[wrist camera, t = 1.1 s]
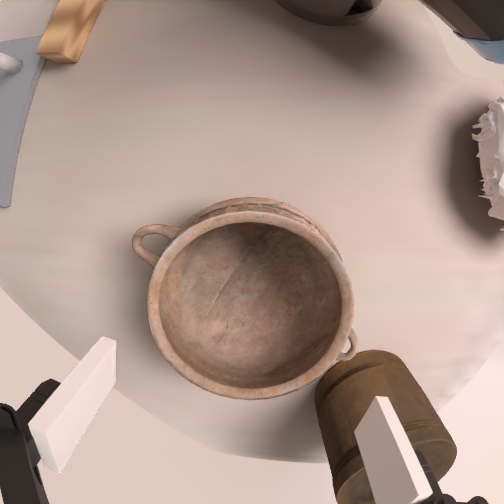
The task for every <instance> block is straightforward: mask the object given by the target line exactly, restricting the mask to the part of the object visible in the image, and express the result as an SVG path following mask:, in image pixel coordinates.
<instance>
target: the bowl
mask: <svg viewBox="0 0 504 504" xmlns="http://www.w3.org/2000/svg"><path fill="white" fill-rule="evenodd" d="M488 108H490V109H489V111H488V112H487V114H485V113H484V114H483V115H482V116H481V117H480V118H479V121H478V122H481V123H478V124H476V125H473V128H481V127H482V130H481V133H479V134H478V135H474V134H472V138H473V140H476V141H478V142H479V143H478V146H479V153H478V154H477V156H476V157H479V158H480V169H481V173H482V176H481V177H483V179H484V180H480V181H484V184H483V188H484V189H481V190H483V191H485V192H486V193H482V194H485V195H481V196H480V197H484V198H488V199H490V202H491V205H492V208H491V209H490V210H489V211H488V215H489V216H491V217H494V218H497V219H501V220H503V221H504V96H502V97H500V98H499V99H497V102H492V103H491V104H490V105H489V106H488ZM500 230H501V231H504V227H502V228H501V229H500Z"/></svg>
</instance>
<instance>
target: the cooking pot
mask: <svg viewBox="0 0 504 504" xmlns="http://www.w3.org/2000/svg"><path fill="white" fill-rule="evenodd" d="M149 234H160V235H163V236H165V237H167V238H169V239H170V241H169V243H168V244H167V246H166V248H165V249H164V252H163V254H162V256H157V255H154V254H152V253H150V252H148V251H147V250H145V249H144V248H143V247H142V246H141V245H140V243H141V240H142V238H143V237H144V236H146V235H149ZM132 247H133V250H134V251H135V252H136V254H137V255H138V256H140V257H141V258H142V259H143V260H145V261H146V262H147V263H149V264H150V265H151V266H152V267H153V268H154V271H153V274H152V276H151V279H150V282H149V287H148V294H147V317H148V321H149V325H150V329H151V333H152V335H153V338H154V340H155V342H156V344H157V347H158V348H159V350H160V351H161V353H162V354H163V356H164V357H165V359H166V360H167V361H168V362H169V363H170V365H171V366H172V367H173V368H174V369H175V370H176V371H177V372H178V373H179V374H181V375H182V376H183V377H185V378H186V379H187V380H188V381H190V382H191V383H193V384H195V385H197V386H198V387H200V388H202V389H204V390H206V391H209V392H212V393H214V394H217V395H220V396H224V397H229V398H233V399H244V400H259V399H269V398H274V397H278V396H283V395H286V394H288V393H291V392H294V391H296V390H298V389H300V388H302V387H304V386H306V385H308V384H309V383H311V382H312V381H314V380H315V379H316V378H318V377H319V376H320V375H321V374H323V373H324V372H325V371H326V370H327V369H328V368H329V367H330V366H331V364H332V363H333V362H334V361H335V360H341V361H347V360H350V359H352V358H353V357H354V356H355V355H356V353H357V351H358V347H359V344H358V339H357V336H356V334H355V332H354V330H353V329H352V328H351V326H352V321H353V316H354V298H353V292H352V286H351V282H350V279H349V277H348V274H347V271H346V269H345V266H344V264H343V262H342V259H341V257H340V254H339V252H338V249H337V248H336V246H335V244H334V243H333V241H332V240H331V238H330V237H329V235H328V234H327V233H326V232H325V231H324V229H323V228H322V227H321V226H320V225H319V224H318V223H317V222H316V221H315V220H313V219H312V218H310V217H309V216H308V215H306V214H305V213H304V212H302V211H300V210H298V209H296V208H294V207H292V206H290V205H288V204H286V203H283V202H279V201H275V200H272V199H268V198H256V197H245V198H235V199H230V200H226V201H223V202H219V203H216V204H214V205H212V206H210V207H208V208H206V209H204V210H202V211H200V212H198V213H197V214H195V215H194V216H193V217H191V218H190V219H189V220H187V221H186V222H185V223H184V224H183V225H182V226H181V227H180V228H178V227H172V226H167V225H160V224H154V225H148V226H145V227H142V228H140V229H139V230H138V231H137V232H136V233H135V234H134V236H133V239H132ZM347 338H349V340H350V343H351V348H350V349H349V351H348V352H347V353H341V351H342V349H343V348H344V345H345V343H346V341H347Z"/></svg>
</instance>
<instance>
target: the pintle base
mask: <svg viewBox="0 0 504 504" xmlns="http://www.w3.org/2000/svg"><path fill="white" fill-rule="evenodd" d="M41 39H42V37H33V38H25V39H18V40H11V41H5V42H0V206H2V207H8V206H10V203H11V194H12V187H13V180H14V174H15V168H16V163H17V157H18V152H19V148H20V143H21V139H22V134H23V130H24V126H25V122H26V118H27V115H28V111H29V108H30V104H31V101H32V98H33V94H34V91H35V88H36V85H37V82H38V79H39V77H40V74H41V71H42V68H43V66H44V63H45V60H46V58H45V57H42V56H40V55H38V54H36V50H37V48H38V45H39V43H40V41H41Z"/></svg>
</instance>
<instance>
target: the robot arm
mask: <svg viewBox="0 0 504 504" xmlns="http://www.w3.org/2000/svg"><path fill="white" fill-rule="evenodd" d="M277 1H278V2H279V3H280V4H281V5H282V6H283V7H285V8H286V9H287V10H289V11H290V12H292V13H294V14H296V15H298V16H300V17H302V18H304V19H307V20H310V21H313V22H316V23H321V24H326V25H338V26H339V25H351V24H355V23H358V22H361V21H363V20H365V19H367V18H368V17H369V16H370V15H372V13H373V12H374V11H375V10H376V8H377V7H378V5H379V4H380V2H381V0H277ZM418 1H420V2H421V3H422V4H423V5H425V6H426V7H427V8H428V9H430V10H431V11H432V12H433V13H434V14H436V15H437V16H438V17H439V18H440V19H441V20H442V21H443V22H445V23H446V24H447V25H448V26H449V27H450V28H451V29H452V30H453V32H454V33H455V34H456V35H457V36H458V37H459V38H461V39H463V40H465V41H466V42H467V43H468V44H469V45H470V46H471V47H472V48H473V49H474V50H475V51H477V53H478V54H479V55H481V56H482V57H483V58H485V59H486V60H489V61H492V62H495V63H498V64H504V0H418ZM115 383H116V341H115V340H113V339H110V338H107V337H104V336H102V337H101V338H100V339H99V340H98V341H97V343H96V344H95V345H94V346H93V347H92V348H91V349H90V350H89V352H88V353H87V354H86V355H85V356H84V357H83V358H82V360H81V361H80V362H79V363H78V364H77V365H76V367H75V368H74V369H73V370H72V371H71V372H70V374H69V375H68V376H67V377H66V378H65V379H64V381H63V382H62V383H60V382H57V381H55V380H53V379H49V380H47V381H45V382H43V383H41V384H40V385H39V386H38V387H37V389H36V390H35V392H33V393H32V394H31V395H30V397H28V399H27V400H26V401H25V402H24V403H23V404H22V405H21V407H20V408H19V409H18V410H17V411H15V410H14V409H13V408H12V407H11V406H9V405H7V404H3V403H0V489H1V493H2V497H3V501H4V504H49V502H48V499H47V496H46V493H45V490H44V487H43V483H42V480H41V477H40V473H39V469H38V466H37V464H38V462H39V460H40V459H41V460H42V462H43V465H44V466H45V467H47V468H49V469H51V470H53V471H54V472H56V473H58V474H60V473H61V472H62V470H63V468H64V467H65V464H66V463H67V461H68V459H69V458H70V456H71V454H72V453H73V451H74V450H75V448H76V446H77V444H78V443H79V441H80V439H81V438H82V436H83V434H84V433H85V431H86V429H87V428H88V426H89V425H90V423H91V421H92V420H93V418H94V416H95V415H96V413H97V411H98V410H99V408H100V406H101V405H102V404H103V402H104V400H105V399H106V397H107V396H108V394H109V392H110V391H111V389H112V388H113V386H114V385H115ZM354 433H355V436H356V439H357V443H358V446H359V449H360V452H361V456H362V459H363V462H364V465H365V469H366V472H367V475H368V479H369V482H370V486H371V489H372V492H373V496H374V499H375V503H376V504H488V502H487V501H486V500H485V499H484V498H483V497H480V496H475V497H473V498H472V499H471V500H470V501H468V502H467V503H465V502H456V501H455V499H454V498H453V497H452V496H450V495H448V494H442V492H441V489H440V487H439V485H438V483H437V481H436V479H435V476H434V474H433V472H431V471H432V470H431V468H430V466H428V465H429V464H428V462H427V460H426V458H425V456H424V455H423V454H422V453H421V452H420V451H419V450H413V448H412V446H411V443H410V441H409V439H408V437H407V435H406V433H405V431H404V429H403V427H402V425H401V423H400V421H399V419H398V417H397V415H396V413H395V411H394V409H393V407H392V405H391V403H390V401H389V399H388V397H381V396H375V398H374V400H373V401H372V403H371V405H370V407H369V408H368V410H367V412H366V413H365V415H364V417H363V418H362V420H361V421H360V423H359V425H358V426H357V428H356V429H355V431H354Z"/></svg>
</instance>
